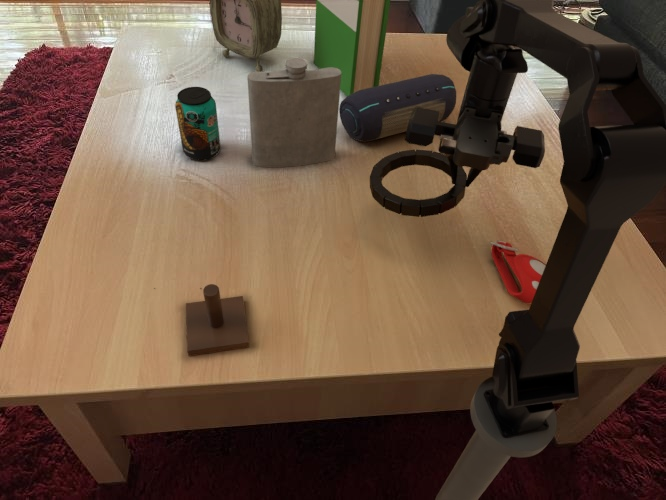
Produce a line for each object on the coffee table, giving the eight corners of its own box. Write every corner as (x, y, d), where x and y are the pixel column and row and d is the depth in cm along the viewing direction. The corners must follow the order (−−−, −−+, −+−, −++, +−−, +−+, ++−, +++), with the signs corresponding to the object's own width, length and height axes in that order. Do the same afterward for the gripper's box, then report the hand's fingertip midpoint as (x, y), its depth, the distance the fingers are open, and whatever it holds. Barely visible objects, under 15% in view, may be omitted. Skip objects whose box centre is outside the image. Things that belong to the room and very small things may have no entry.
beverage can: (175, 152, 100) (164, 95, 91) (202, 136, 104) (194, 80, 95) (202, 167, 97) (193, 110, 88) (228, 150, 101) (223, 94, 92)
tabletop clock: (215, 57, 126) (203, -59, 108) (241, 44, 131) (234, -68, 113) (259, 78, 121) (255, -41, 103) (285, 64, 126) (285, -51, 108)
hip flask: (332, 150, 103) (340, 52, 89) (337, 162, 101) (345, 64, 86) (251, 157, 100) (245, 57, 85) (254, 170, 97) (248, 69, 83)
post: (249, 347, 71) (245, 310, 65) (188, 356, 70) (179, 319, 64) (243, 300, 76) (239, 263, 70) (186, 308, 75) (178, 270, 69)
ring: (449, 154, 88) (450, 144, 86) (478, 209, 77) (480, 198, 76) (363, 166, 87) (362, 156, 86) (380, 222, 76) (380, 212, 75)
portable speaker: (357, 155, 102) (362, 110, 95) (332, 128, 108) (336, 84, 101) (458, 127, 112) (470, 84, 104) (431, 104, 118) (440, 61, 110)
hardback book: (377, 92, 120) (393, -20, 102) (349, 98, 117) (360, -15, 100) (340, 57, 130) (348, -49, 113) (313, 62, 127) (318, -46, 110)
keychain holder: (565, 266, 83) (565, 300, 75) (548, 285, 86) (546, 320, 78) (498, 228, 85) (491, 257, 76) (483, 248, 87) (475, 278, 79)
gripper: (408, 107, 64) (390, 204, 75) (564, 136, 62) (522, 232, 73) (420, 67, 72) (402, 160, 83) (560, 91, 69) (522, 184, 81)
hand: (460, 183), depth 80 cm, fingers closed on ring, 2 cm apart
